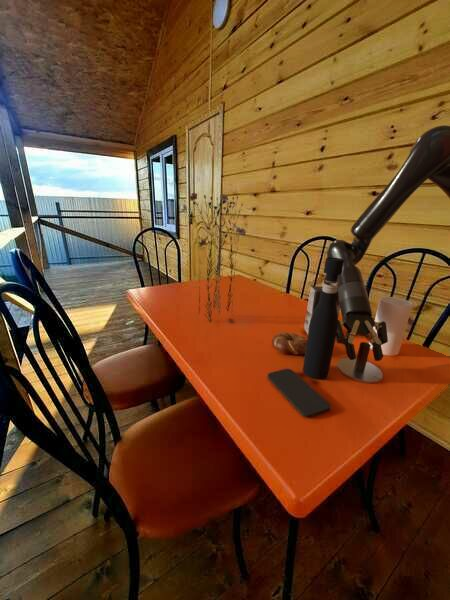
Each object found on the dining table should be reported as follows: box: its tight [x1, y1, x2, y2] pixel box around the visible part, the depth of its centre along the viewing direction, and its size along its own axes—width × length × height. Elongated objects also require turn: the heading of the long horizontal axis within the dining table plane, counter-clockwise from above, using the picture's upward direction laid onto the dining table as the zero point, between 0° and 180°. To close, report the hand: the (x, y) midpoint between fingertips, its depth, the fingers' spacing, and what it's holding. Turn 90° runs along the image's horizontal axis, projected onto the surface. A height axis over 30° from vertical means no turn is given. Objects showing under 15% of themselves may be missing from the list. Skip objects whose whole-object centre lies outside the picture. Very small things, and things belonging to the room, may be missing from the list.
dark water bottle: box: [302, 257, 344, 381], centre depth 62 cm, size 6×6×30 cm
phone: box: [267, 368, 332, 418], centre depth 59 cm, size 7×1×15 cm
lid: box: [336, 341, 384, 385], centre depth 67 cm, size 11×11×8 cm
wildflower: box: [189, 192, 246, 323], centre depth 91 cm, size 22×23×45 cm
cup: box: [368, 296, 414, 357], centre depth 77 cm, size 8×8×16 cm
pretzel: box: [271, 332, 307, 356], centre depth 78 cm, size 12×11×4 cm
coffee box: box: [303, 285, 341, 335], centre depth 87 cm, size 9×6×16 cm
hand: (365, 359), depth 65 cm, fingers open, 6 cm apart
